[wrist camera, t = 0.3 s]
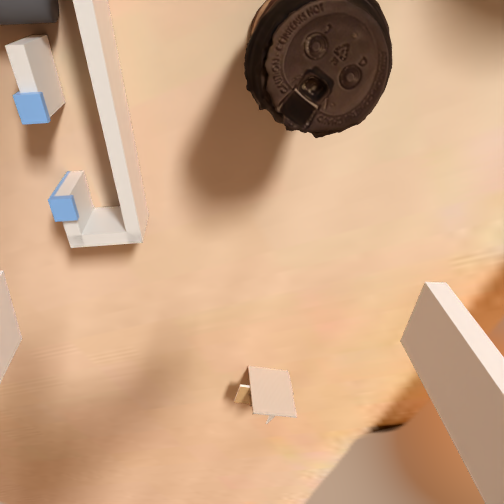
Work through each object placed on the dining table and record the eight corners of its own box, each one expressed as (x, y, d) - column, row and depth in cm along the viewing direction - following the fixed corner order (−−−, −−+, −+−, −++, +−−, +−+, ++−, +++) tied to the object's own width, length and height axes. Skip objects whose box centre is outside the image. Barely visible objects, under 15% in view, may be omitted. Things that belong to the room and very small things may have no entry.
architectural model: (280, 384, 58) (289, 433, 52) (232, 378, 57) (235, 428, 50) (288, 367, 56) (298, 416, 50) (239, 361, 55) (243, 411, 49)
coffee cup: (247, 104, 36) (265, 162, 25) (219, -5, 31) (227, 9, 21) (346, 76, 36) (408, 123, 25) (334, -40, 31) (402, -44, 20)
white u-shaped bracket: (-27, -145, 26) (-77, -169, 21) (80, -147, 26) (53, -171, 22) (81, 219, 41) (65, 252, 36) (149, 215, 41) (141, 246, 36)
